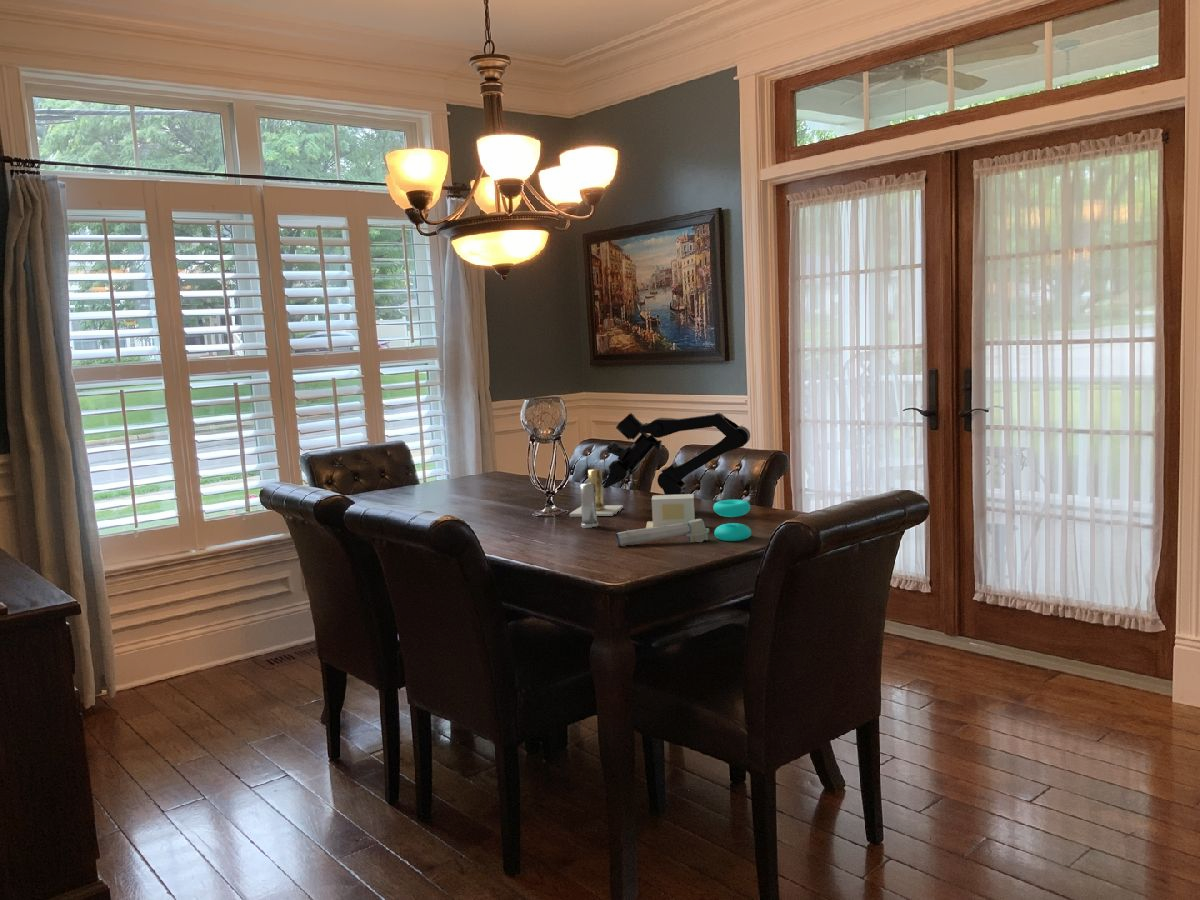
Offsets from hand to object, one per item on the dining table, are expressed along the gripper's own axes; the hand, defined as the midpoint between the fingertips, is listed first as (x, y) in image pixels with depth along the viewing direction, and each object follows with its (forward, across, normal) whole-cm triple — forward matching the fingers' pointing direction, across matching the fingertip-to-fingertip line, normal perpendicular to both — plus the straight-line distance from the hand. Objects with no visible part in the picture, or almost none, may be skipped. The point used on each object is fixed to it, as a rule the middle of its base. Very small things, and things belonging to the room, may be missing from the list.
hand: (607, 485), depth 306 cm
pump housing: (-12, +24, +25) cm, 36 cm away
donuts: (-25, +36, +38) cm, 58 cm away
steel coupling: (+6, +22, +6) cm, 24 cm away
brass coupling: (+9, 0, +3) cm, 9 cm away
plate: (+9, 0, +3) cm, 10 cm away
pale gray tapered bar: (-12, +43, +26) cm, 52 cm away
